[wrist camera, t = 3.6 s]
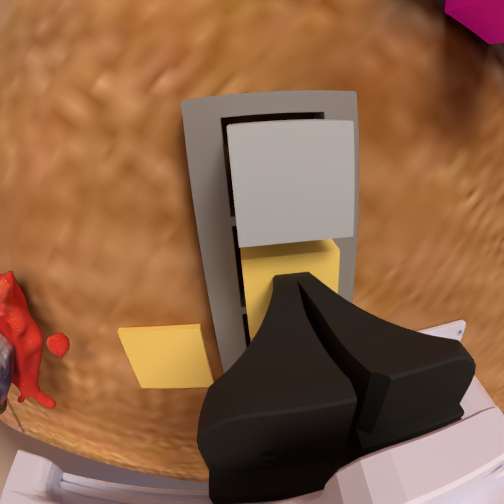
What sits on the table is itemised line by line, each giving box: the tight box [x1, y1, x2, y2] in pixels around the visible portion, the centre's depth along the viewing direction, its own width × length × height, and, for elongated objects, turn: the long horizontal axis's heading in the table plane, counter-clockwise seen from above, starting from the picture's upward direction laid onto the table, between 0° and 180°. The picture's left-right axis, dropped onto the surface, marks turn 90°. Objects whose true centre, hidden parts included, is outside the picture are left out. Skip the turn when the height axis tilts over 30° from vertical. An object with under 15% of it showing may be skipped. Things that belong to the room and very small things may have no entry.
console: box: [181, 90, 359, 373], centre depth 15 cm, size 15×7×2 cm, turn 5°
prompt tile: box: [118, 324, 214, 388], centre depth 18 cm, size 5×5×1 cm
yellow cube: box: [240, 239, 340, 338], centre depth 13 cm, size 4×4×4 cm
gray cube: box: [227, 119, 355, 248], centre depth 10 cm, size 4×4×4 cm
